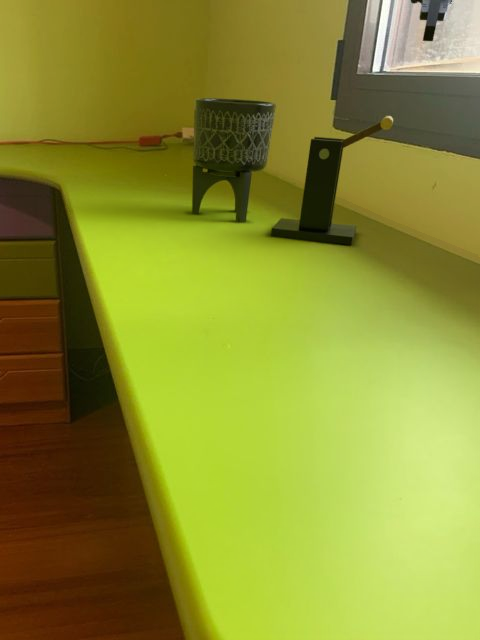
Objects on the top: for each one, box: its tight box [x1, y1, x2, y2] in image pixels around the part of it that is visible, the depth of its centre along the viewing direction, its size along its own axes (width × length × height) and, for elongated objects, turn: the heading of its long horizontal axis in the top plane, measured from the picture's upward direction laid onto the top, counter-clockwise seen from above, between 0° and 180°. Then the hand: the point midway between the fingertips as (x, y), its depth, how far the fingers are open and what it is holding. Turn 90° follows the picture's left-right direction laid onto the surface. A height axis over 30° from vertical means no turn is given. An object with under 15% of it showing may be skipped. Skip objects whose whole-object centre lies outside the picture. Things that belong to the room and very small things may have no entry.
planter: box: [191, 97, 277, 223], centre depth 114 cm, size 13×13×18 cm
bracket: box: [270, 136, 357, 246], centre depth 104 cm, size 12×9×14 cm
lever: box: [341, 115, 394, 149], centre depth 99 cm, size 11×6×2 cm, turn 74°
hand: (429, 33), depth 104 cm, fingers closed
